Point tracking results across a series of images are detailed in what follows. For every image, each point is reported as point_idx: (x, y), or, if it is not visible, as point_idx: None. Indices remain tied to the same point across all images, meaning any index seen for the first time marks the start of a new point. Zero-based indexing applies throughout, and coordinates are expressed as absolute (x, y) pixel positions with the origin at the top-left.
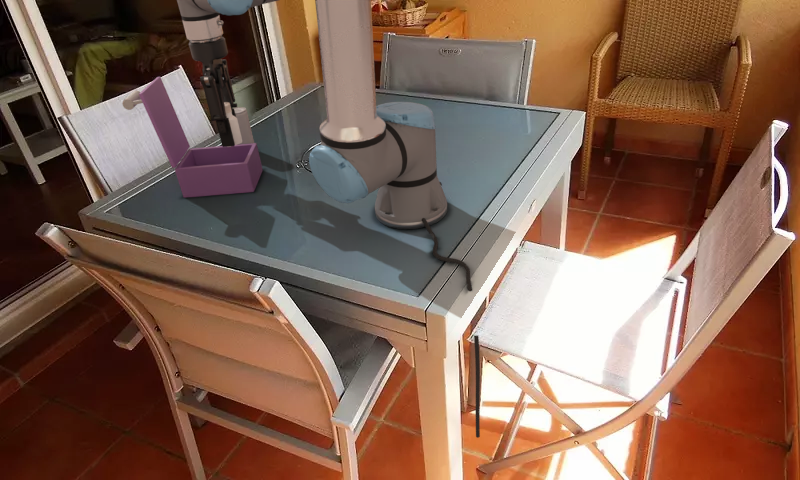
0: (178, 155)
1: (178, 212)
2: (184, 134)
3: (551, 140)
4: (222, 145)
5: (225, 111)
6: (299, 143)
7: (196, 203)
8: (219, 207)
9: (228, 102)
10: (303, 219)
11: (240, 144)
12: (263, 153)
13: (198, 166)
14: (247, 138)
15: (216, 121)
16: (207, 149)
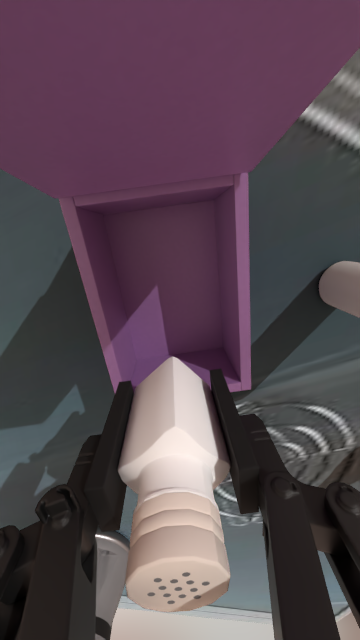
0: (113, 182)
1: (21, 227)
2: (270, 143)
3: (258, 618)
4: (118, 385)
5: (95, 589)
6: (349, 382)
7: (70, 256)
8: (61, 317)
9: (213, 601)
10: (46, 459)
11: (249, 350)
12: (319, 323)
13: (90, 278)
14: (351, 311)
15: (87, 482)
16: (235, 249)
